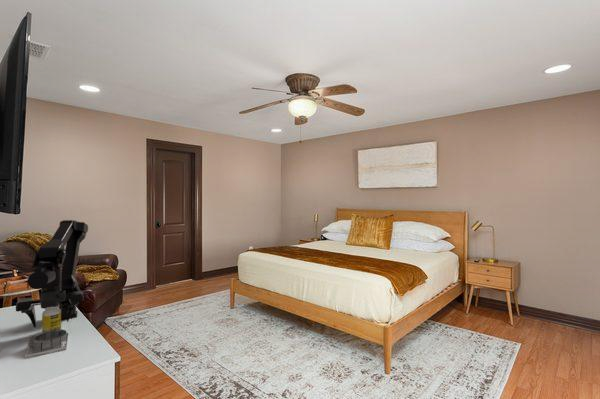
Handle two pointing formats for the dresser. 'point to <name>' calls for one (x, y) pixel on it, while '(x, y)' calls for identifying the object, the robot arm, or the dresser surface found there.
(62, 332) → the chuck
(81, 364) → the dresser surface
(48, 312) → the supplement bottle
